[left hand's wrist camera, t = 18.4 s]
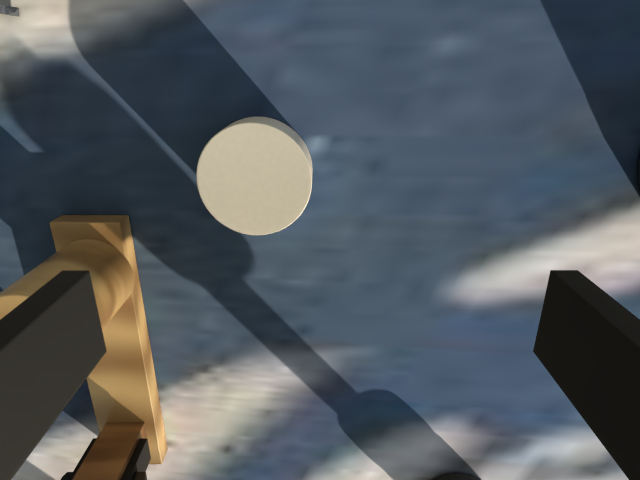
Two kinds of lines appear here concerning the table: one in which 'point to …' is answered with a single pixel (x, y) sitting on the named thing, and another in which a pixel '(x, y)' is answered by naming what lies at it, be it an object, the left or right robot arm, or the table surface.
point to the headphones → (458, 477)
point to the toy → (9, 10)
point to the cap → (255, 176)
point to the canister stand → (107, 338)
